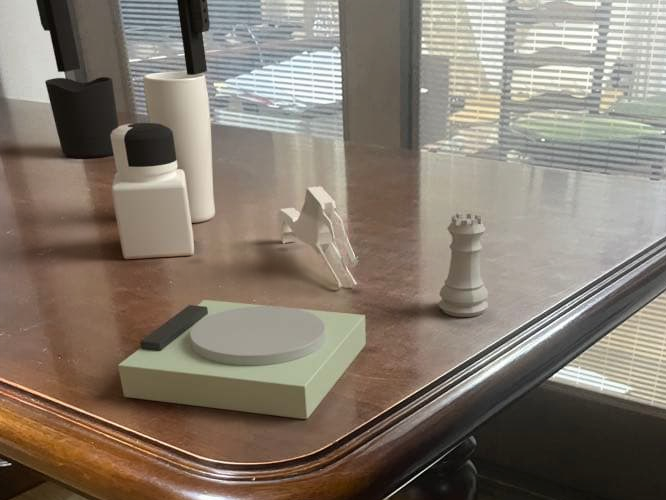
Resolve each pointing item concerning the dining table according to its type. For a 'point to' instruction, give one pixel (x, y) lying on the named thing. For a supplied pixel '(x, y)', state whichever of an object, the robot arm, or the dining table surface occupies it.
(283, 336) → the scale
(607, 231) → the dining table surface
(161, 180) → the medicine bottle
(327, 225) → the white angular pronged piece
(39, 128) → the dining table surface
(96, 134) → the pen holder
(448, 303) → the rook chess piece
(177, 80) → the drinking glass
